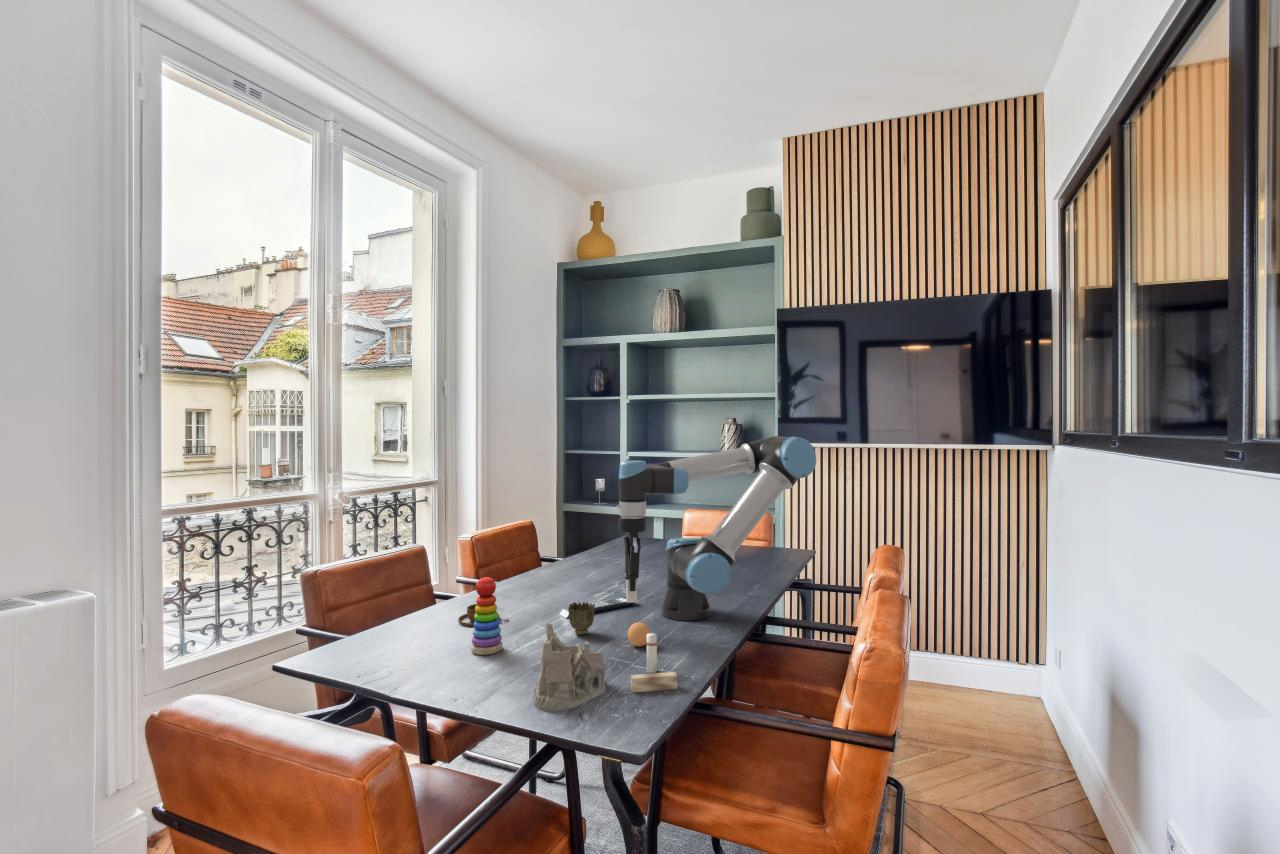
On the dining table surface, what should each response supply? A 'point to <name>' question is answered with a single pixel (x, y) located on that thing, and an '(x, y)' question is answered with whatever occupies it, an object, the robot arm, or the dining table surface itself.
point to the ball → (638, 634)
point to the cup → (581, 617)
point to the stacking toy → (486, 620)
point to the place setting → (472, 616)
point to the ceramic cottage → (567, 675)
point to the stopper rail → (653, 682)
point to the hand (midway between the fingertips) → (631, 601)
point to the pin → (651, 652)
